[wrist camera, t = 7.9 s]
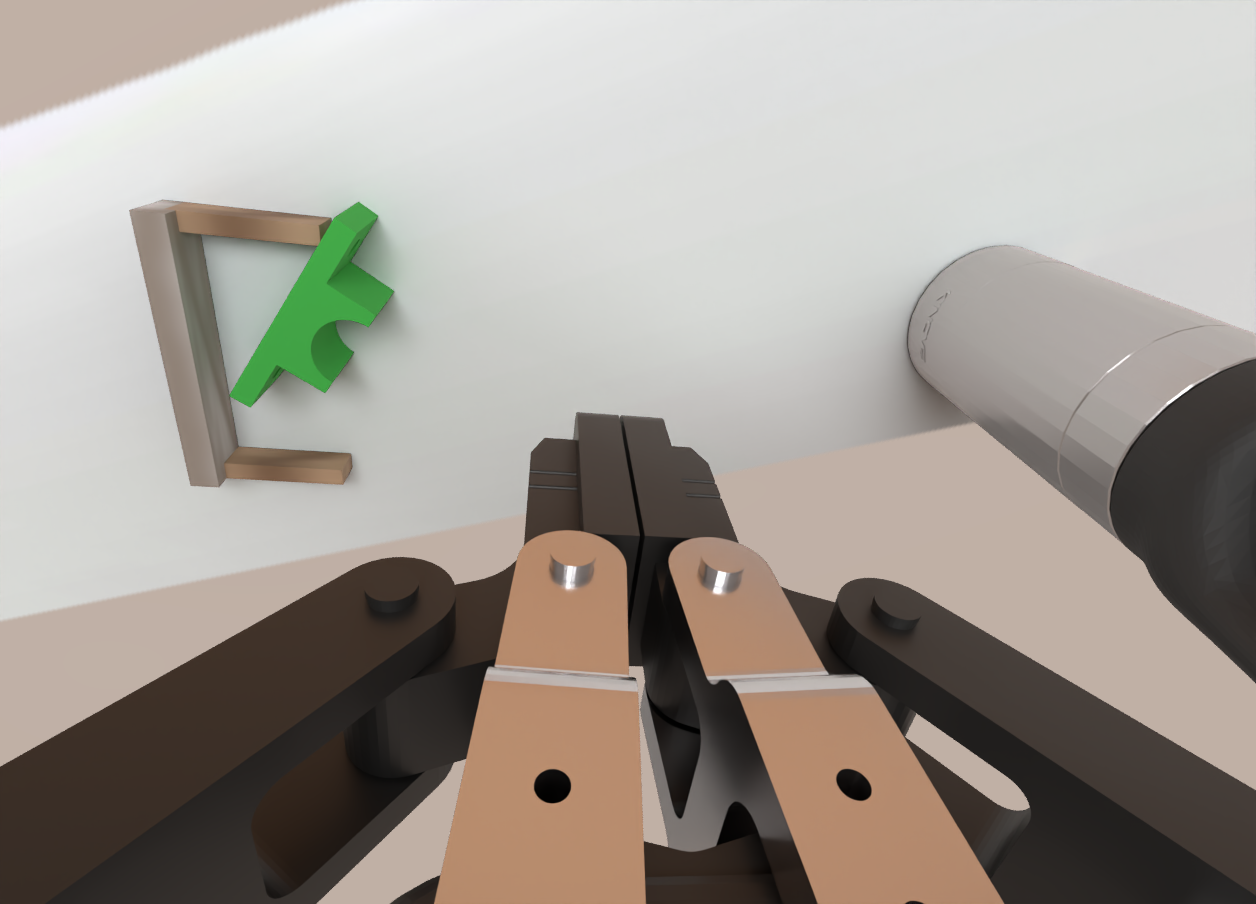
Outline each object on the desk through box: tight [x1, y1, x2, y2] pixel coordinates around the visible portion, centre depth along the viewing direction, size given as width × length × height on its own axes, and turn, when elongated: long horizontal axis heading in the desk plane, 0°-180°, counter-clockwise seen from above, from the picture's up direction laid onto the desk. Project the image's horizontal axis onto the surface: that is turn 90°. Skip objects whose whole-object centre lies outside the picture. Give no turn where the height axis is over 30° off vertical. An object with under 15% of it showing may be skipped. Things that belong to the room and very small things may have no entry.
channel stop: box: [129, 200, 352, 487], centre depth 36 cm, size 8×15×3 cm, turn 173°
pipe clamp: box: [229, 202, 394, 407], centre depth 35 cm, size 11×4×5 cm, turn 141°
